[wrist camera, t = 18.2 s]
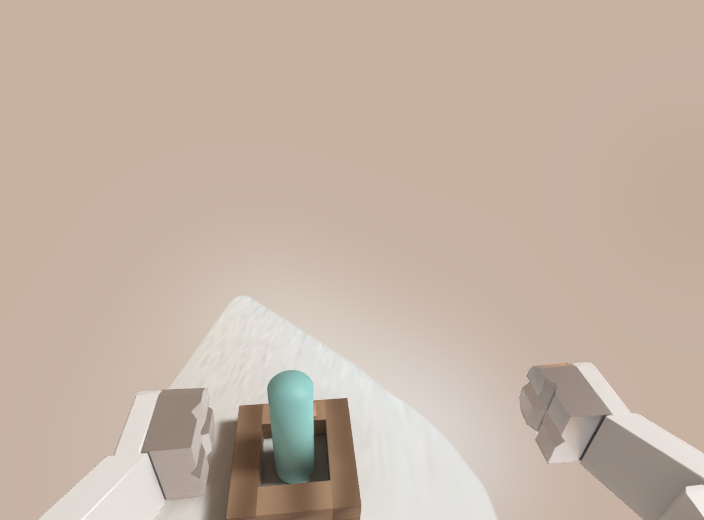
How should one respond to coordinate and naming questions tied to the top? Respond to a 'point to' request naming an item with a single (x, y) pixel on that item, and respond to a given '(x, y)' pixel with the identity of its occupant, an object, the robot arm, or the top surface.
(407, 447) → the top surface
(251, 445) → the hole plate
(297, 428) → the teal peg
